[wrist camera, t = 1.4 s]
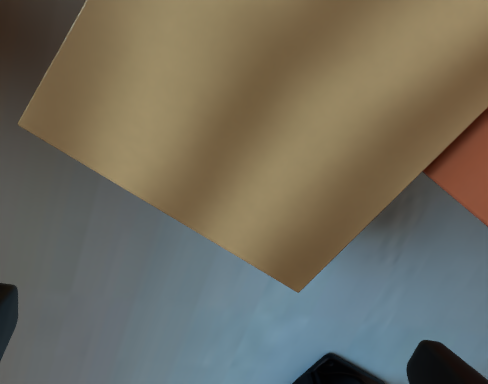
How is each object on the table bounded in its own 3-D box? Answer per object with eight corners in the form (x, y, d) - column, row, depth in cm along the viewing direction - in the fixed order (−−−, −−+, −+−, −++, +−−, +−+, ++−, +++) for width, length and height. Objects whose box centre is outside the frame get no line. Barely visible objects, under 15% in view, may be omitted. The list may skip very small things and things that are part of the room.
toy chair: (474, 37, 20) (793, 88, 9) (381, 137, 22) (547, 277, 11) (391, -54, 18) (670, -132, 7) (296, 65, 20) (397, 150, 9)
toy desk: (497, -43, 18) (665, -67, 11) (273, 207, 23) (298, 293, 16) (303, -284, 14) (383, -537, 7) (85, 79, 19) (16, 124, 12)
